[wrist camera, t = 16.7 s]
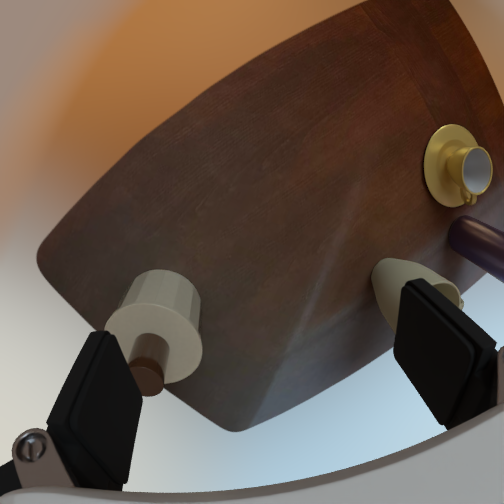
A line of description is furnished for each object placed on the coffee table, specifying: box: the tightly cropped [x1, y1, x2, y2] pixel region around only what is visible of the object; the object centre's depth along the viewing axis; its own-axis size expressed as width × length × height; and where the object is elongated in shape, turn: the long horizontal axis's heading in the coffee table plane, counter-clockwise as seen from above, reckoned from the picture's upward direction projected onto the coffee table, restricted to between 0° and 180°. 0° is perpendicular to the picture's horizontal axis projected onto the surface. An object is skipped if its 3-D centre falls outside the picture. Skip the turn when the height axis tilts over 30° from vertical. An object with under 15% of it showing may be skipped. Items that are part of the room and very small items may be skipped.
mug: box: [371, 258, 464, 334], centre depth 36 cm, size 11×10×12 cm
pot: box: [115, 269, 202, 334], centre depth 36 cm, size 10×10×8 cm
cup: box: [424, 124, 492, 207], centre depth 35 cm, size 12×12×5 cm
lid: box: [104, 301, 203, 397], centre depth 30 cm, size 11×11×7 cm
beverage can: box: [449, 216, 504, 283], centre depth 34 cm, size 6×6×15 cm
